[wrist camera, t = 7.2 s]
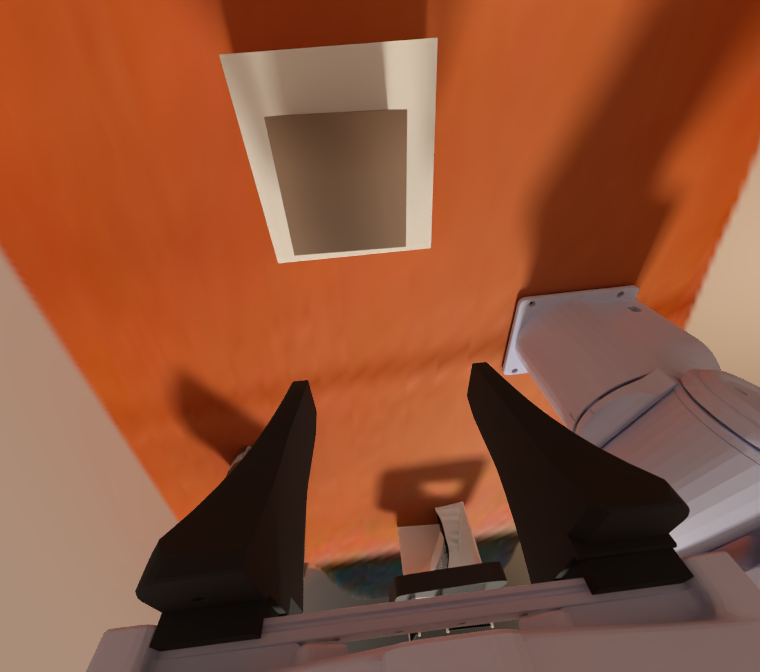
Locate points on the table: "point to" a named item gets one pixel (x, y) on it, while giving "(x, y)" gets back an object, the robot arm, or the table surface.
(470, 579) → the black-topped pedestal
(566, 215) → the table surface
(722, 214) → the table surface
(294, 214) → the grayish beige block
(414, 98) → the base block
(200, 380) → the table surface
